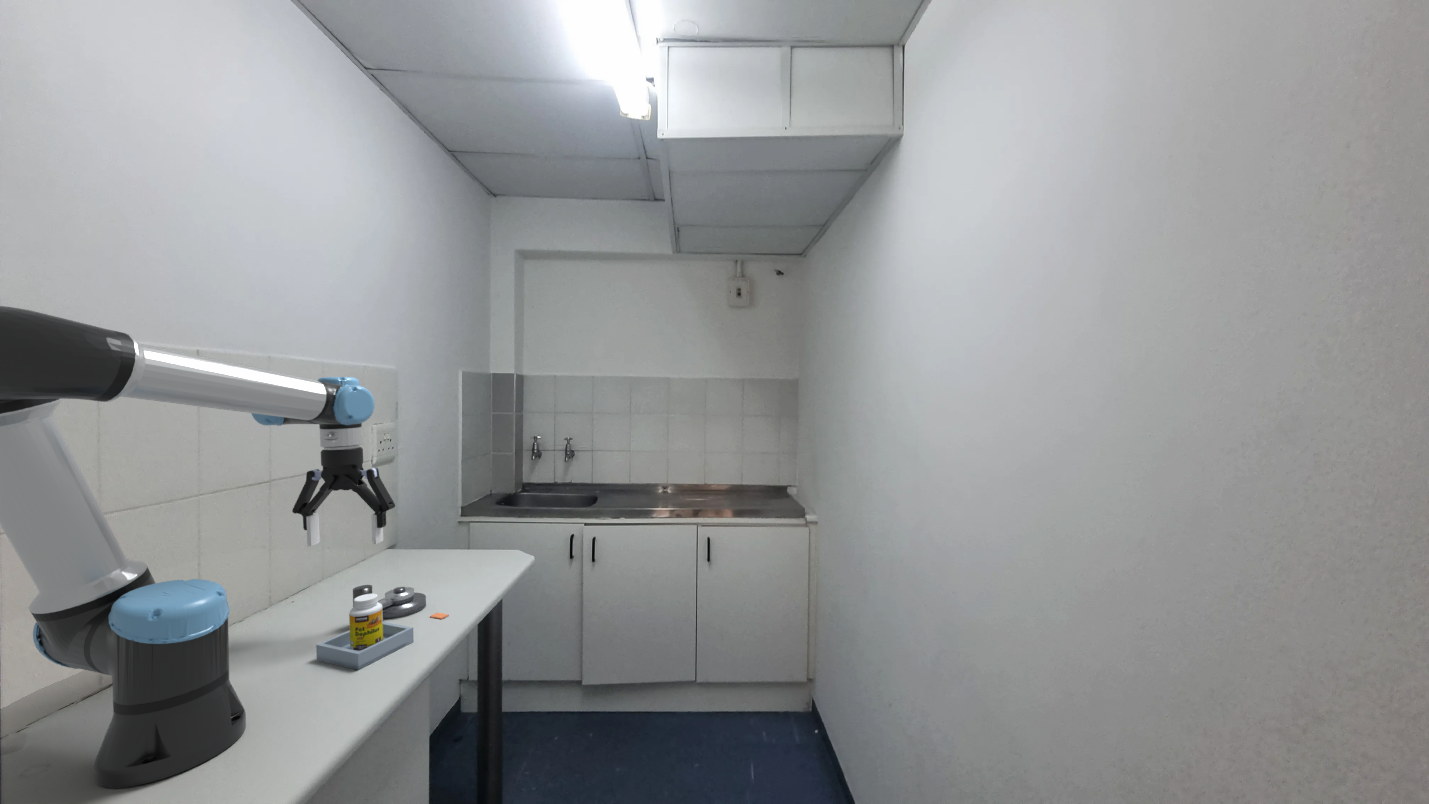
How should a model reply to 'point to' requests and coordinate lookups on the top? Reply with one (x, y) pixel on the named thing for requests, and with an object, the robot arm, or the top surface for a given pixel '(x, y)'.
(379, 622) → the supplement bottle
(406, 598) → the crank
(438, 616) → the orange flat block
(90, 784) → the top surface
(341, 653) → the tray
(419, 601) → the crank housing
